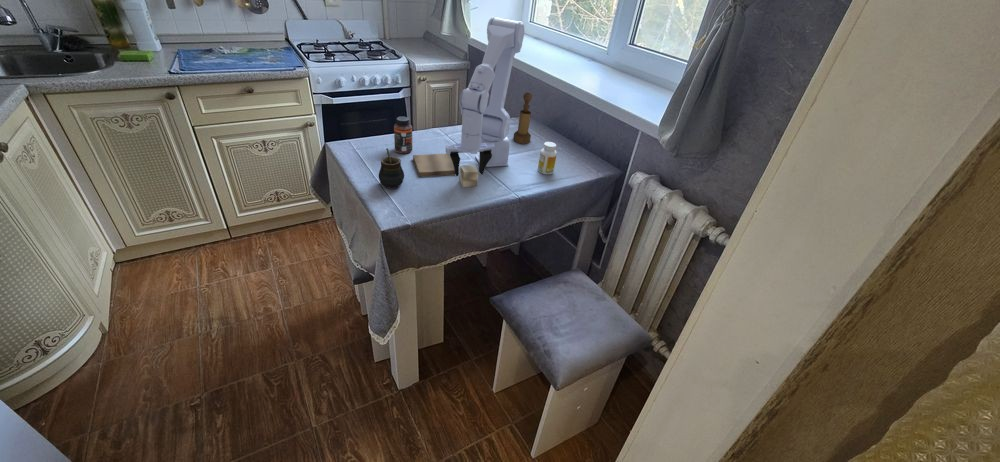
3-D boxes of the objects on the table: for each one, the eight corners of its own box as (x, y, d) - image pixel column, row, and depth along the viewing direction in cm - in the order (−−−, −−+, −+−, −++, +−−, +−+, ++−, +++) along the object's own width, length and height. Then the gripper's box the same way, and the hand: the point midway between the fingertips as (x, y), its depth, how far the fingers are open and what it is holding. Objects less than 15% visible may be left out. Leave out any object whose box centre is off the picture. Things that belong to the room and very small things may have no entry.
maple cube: (473, 179, 135) (474, 164, 133) (477, 186, 132) (478, 171, 129) (459, 180, 134) (460, 165, 131) (463, 187, 131) (464, 172, 128)
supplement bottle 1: (408, 155, 144) (407, 123, 138) (391, 152, 145) (390, 120, 138) (415, 148, 149) (414, 117, 142) (398, 145, 150) (397, 114, 143)
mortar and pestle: (530, 144, 162) (537, 97, 151) (513, 142, 161) (519, 95, 151) (529, 137, 167) (536, 91, 157) (513, 135, 167) (518, 89, 156)
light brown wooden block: (448, 158, 146) (448, 153, 145) (457, 175, 137) (457, 170, 136) (413, 160, 142) (413, 155, 141) (419, 178, 133) (419, 172, 132)
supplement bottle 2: (554, 169, 146) (560, 143, 141) (551, 176, 142) (556, 149, 137) (539, 165, 148) (544, 139, 142) (535, 172, 143) (540, 145, 138)
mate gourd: (385, 193, 123) (383, 161, 117) (374, 181, 128) (372, 150, 122) (408, 187, 127) (407, 156, 121) (397, 176, 132) (395, 146, 126)
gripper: (450, 138, 118) (448, 181, 126) (499, 136, 123) (495, 178, 130) (444, 128, 123) (443, 170, 131) (492, 126, 128) (488, 167, 136)
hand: (468, 173), depth 131 cm, fingers open, 7 cm apart
